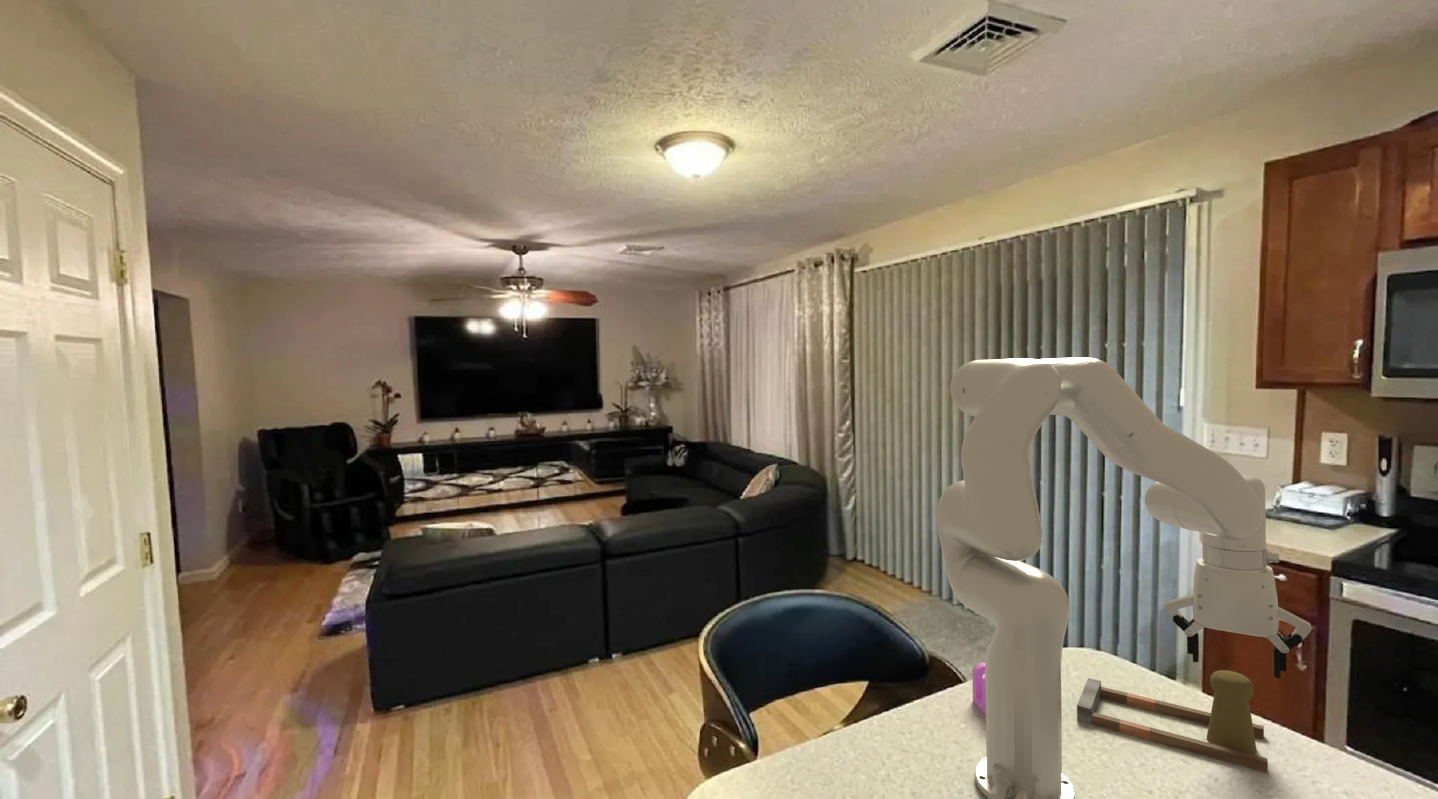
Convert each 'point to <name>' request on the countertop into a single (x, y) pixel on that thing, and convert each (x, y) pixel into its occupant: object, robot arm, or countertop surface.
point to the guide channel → (1088, 715)
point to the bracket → (979, 687)
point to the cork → (1231, 712)
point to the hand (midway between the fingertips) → (1235, 666)
